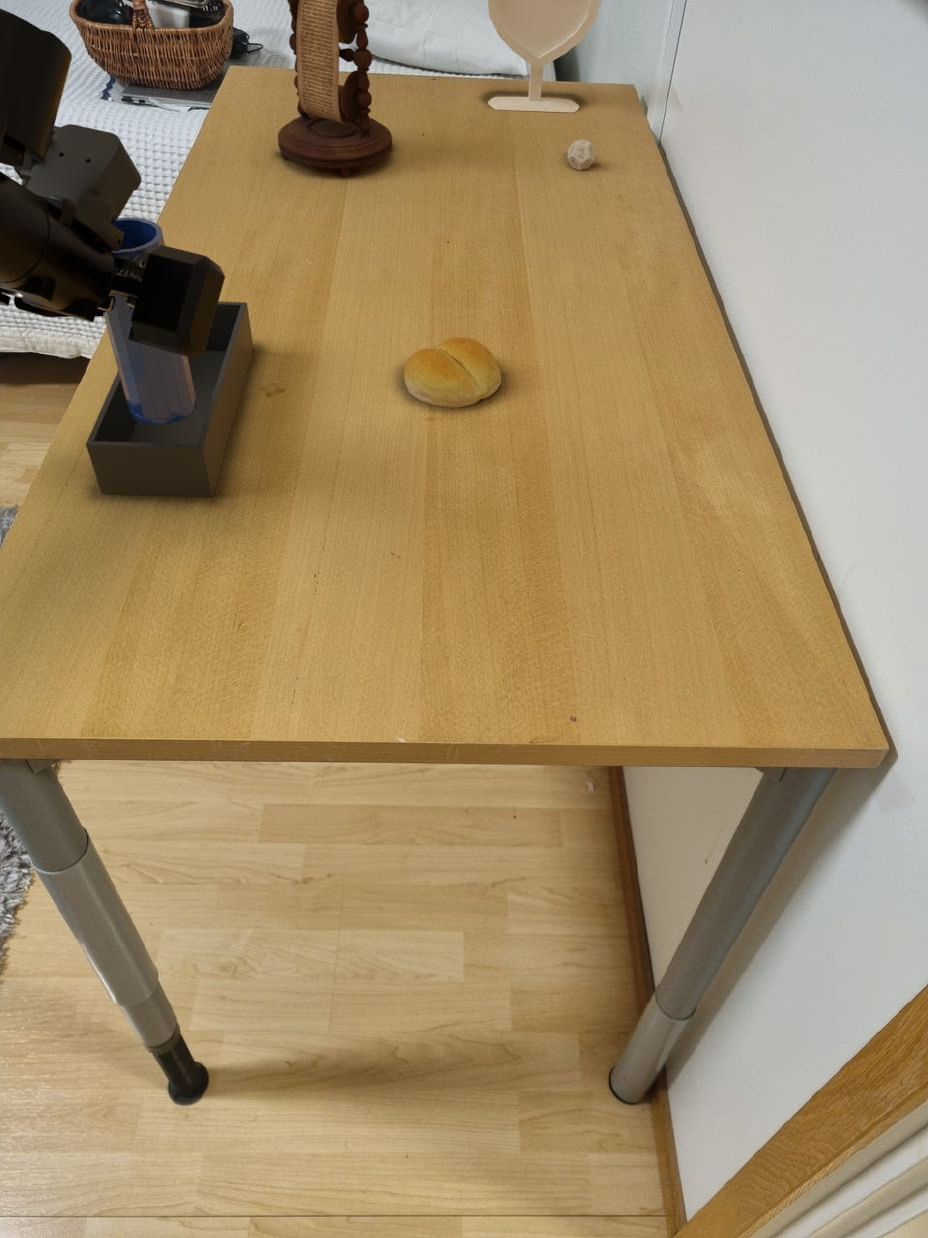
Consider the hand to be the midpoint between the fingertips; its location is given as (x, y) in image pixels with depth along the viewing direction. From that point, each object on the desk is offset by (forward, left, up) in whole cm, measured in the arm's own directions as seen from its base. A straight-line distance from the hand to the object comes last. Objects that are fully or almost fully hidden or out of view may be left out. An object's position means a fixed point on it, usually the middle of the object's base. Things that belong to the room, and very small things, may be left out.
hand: (155, 316), depth 70 cm
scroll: (+24, +60, -14) cm, 66 cm away
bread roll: (+25, +6, -14) cm, 29 cm away
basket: (0, +6, -13) cm, 15 cm away
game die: (+55, +51, -14) cm, 76 cm away
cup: (-1, -1, -7) cm, 7 cm away
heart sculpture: (+56, +73, -14) cm, 93 cm away
